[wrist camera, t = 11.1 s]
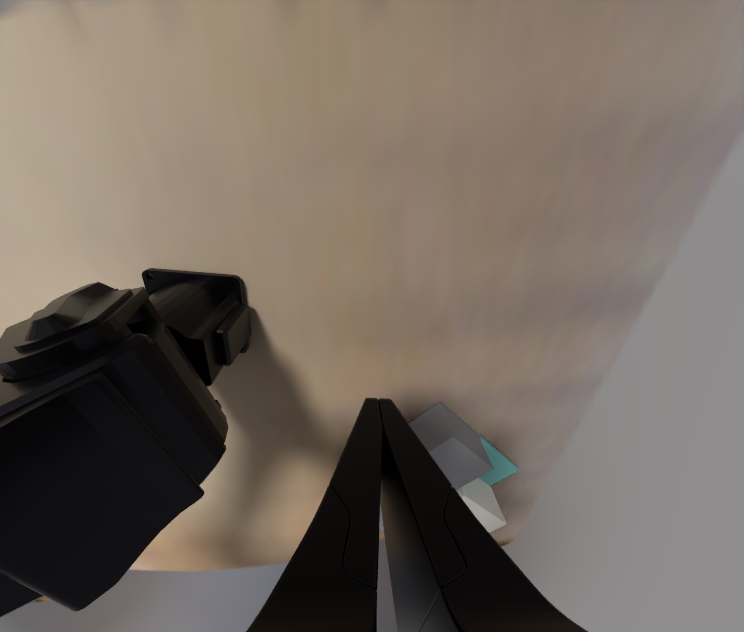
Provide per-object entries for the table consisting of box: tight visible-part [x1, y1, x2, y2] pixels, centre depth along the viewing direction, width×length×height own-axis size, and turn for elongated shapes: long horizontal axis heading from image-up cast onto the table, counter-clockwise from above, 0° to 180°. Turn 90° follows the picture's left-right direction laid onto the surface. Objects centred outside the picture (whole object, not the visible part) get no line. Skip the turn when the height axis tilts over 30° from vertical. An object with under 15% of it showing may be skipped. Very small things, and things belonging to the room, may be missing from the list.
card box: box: [456, 478, 506, 533], centre depth 31 cm, size 4×6×8 cm
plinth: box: [379, 402, 494, 531], centre depth 29 cm, size 6×14×4 cm, turn 134°
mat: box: [479, 436, 519, 486], centre depth 33 cm, size 8×14×1 cm, turn 134°
